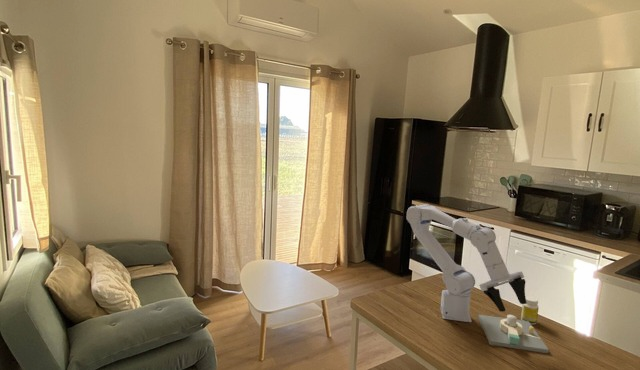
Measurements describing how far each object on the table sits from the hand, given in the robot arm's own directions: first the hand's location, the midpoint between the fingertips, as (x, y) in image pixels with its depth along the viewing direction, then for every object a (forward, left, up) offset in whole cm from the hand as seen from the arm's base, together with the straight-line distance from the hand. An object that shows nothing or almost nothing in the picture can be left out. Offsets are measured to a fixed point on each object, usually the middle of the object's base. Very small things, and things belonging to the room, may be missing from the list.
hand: (513, 307), depth 103 cm
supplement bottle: (+10, +14, -11) cm, 21 cm away
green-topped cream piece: (+1, +1, -10) cm, 10 cm away
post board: (+1, +4, -11) cm, 12 cm away
